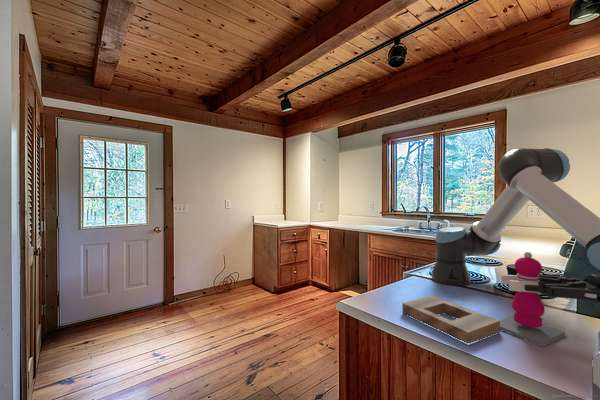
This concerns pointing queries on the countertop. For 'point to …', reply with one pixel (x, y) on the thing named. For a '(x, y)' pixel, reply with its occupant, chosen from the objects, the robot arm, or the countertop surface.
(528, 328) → the grey mat
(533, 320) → the pepper mill
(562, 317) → the countertop surface
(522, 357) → the countertop surface
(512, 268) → the coffee mug
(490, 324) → the frame
